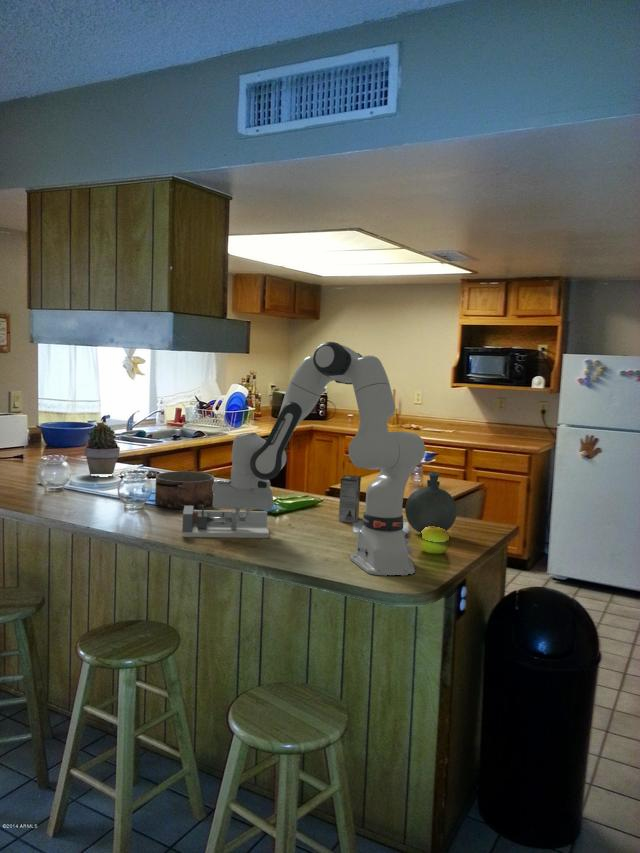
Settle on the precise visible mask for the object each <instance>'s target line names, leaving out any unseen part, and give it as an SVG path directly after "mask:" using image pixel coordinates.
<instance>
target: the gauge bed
mask: <svg viewBox="0 0 640 853" xmlns="http://www.w3.org/2000/svg"><path fill="white" fill-rule="evenodd" d="M193 507H194V506H184V509H183V511H182V533H181V534H182V535H181V537H182V538H185V537H186V538H236V539H237V538H240V539H241V538H244V539H245V538H248V539H249V538H250V539H256V538H257V539H268V538H270V532H269V528H268V511H264V510H263V511H261V510H259V511H255V510H250V513H249V515H248V516H247V517H246V522H238V516H237V514H236V529H231V522H207V529H198V528H197V527H198V513H202V509H201V510H199V509H193ZM204 513H207V517H231V510H210V509H209V510H207V509H206V510H205V509H204ZM239 514H240V516H244V515H245V514H246V510H240V512H239Z"/></svg>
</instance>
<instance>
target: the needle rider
mask: <svg viewBox="0 0 640 853" xmlns="http://www.w3.org/2000/svg"><path fill="white" fill-rule="evenodd" d="M201 510H202V513H198V527H197V528H198V529H207V513H204V510H205V508H204V505H202V508H201Z"/></svg>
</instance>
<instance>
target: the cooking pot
mask: <svg viewBox="0 0 640 853" xmlns="http://www.w3.org/2000/svg"><path fill="white" fill-rule="evenodd" d="M214 482H215V476H214V475H213V474H212V473H210V472H205V471H187V470H186V471H184V470H182V471H180V470H178V471H177V470H176V471H167V472H160V473H158V474H156V475H155V494H154V497H155V498H154V500H155V504H156V505H157V506H160V507H162V508H165V509H166V508H167V509H173V510H174V509H175V510H184V506H194V507H193V510H199V509H202V505H204V509H205V508H208V507H210V506H212V504H213V495H214V493H213V492H212V485H213V483H214Z"/></svg>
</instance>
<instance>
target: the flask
mask: <svg viewBox="0 0 640 853" xmlns="http://www.w3.org/2000/svg"><path fill="white" fill-rule="evenodd" d="M427 475H428V476H429V479H427V480H426V484H427V486H424V487H420V488H418V489H416V490H414V491H412V493H411V494H409V496H408V498H407V500H406V503H405V512H404V513H405V517H406V520H407V522H408V524H409V525H410V527H411V528H413V530H415V531H416V532H417V533H420V534H422V533H421V531H422V530H423V529H424V528H425V527H428V526H435V527H440V528H443V529H445V530H446V532H447V531H449V529H451V528H452V526H454V524H455V521H456V519H457V513H458V512H457V511H458V509H457V503H456V501H455V499H454V497H453V495H452V494H450V493H449V492H448V491H446V490H445V489H443V488H440V483H441V482H440V481H439V480H438V479H439V478H440V476H441V474H440V473H438V472H435V471H431V472H427Z"/></svg>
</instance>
